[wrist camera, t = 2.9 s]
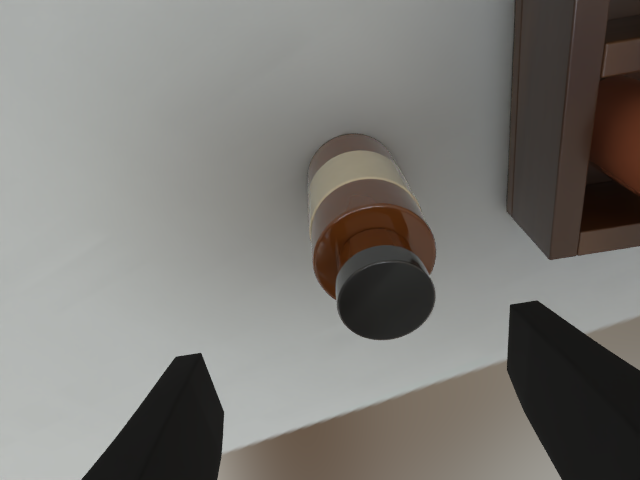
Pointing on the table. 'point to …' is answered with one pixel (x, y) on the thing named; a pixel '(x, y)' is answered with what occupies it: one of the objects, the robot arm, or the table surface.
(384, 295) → the spice bottle
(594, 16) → the cup holder
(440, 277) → the table surface
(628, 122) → the clay jar
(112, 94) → the table surface
